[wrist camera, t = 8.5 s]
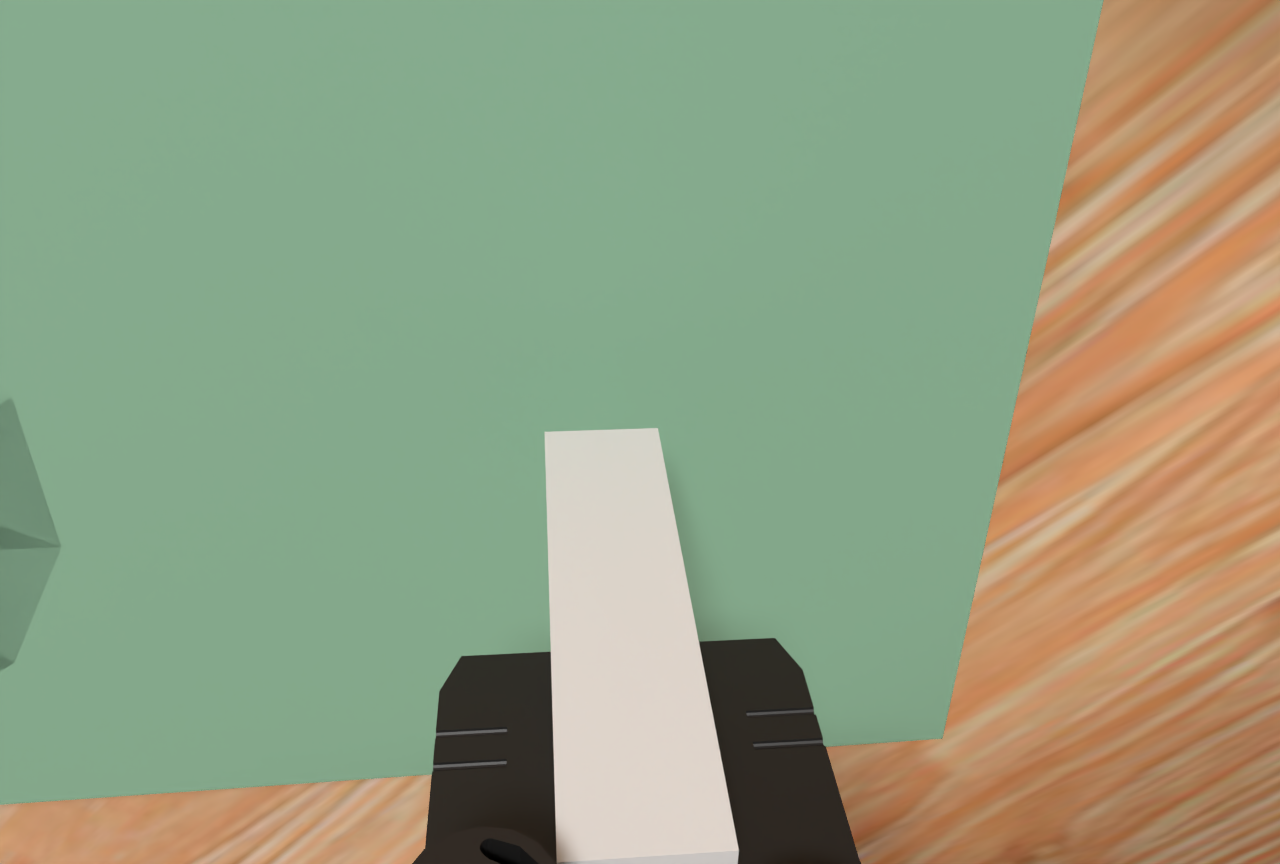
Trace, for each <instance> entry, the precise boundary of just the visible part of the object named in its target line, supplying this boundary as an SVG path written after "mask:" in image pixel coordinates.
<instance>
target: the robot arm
mask: <svg viewBox="0 0 1280 864" xmlns="http://www.w3.org/2000/svg"><path fill="white" fill-rule="evenodd" d="M545 467H546V502H547V537H548V572H549V607H550V642H551V652H533V653H513V654H493V655H473V656H461V657H460V659H459V661H458V662H457V664H456V665H455V667H454V669H453V670H452V672H451V673H450V675H449V677H448V678H447V680H446V681H445V683H444V685H443V686H442V688H441V689H440V691H439V700H438V712H437V723H436V738H435V745H434V757H433V771H432V779H431V790H430V801H429V813H428V824H427V835H426V846H425V849H424V850H423V852H422V853H421V854H420V855H419V856H418V858H417V859H416V860H415V861H414V862H413V863H412V864H861V862H860V860H859V858H858V854H857V851H856V847H855V844H854V841H853V837H852V834H851V831H850V827H849V824H848V820H847V817H846V814H845V810H844V807H843V804H842V800H841V797H840V794H839V790H838V787H837V783H836V780H835V777H834V773H833V770H832V767H831V763H830V760H829V757H828V753H827V750H826V746H824V745H823V736H822V733H821V730H820V726H819V723H818V720H817V716H816V715H814V706H813V703H812V699H811V696H810V693H809V689H808V686H807V683H806V679H805V676H804V672H803V669H802V668H801V667H800V666H799V665H798V664H797V663H796V661H795V660H794V659H793V658H792V657H791V656H790V655H789V653H788V652H787V651H786V650H785V649H784V648H783V647H782V645H781V644H780V643H779V642H778V641H777V640H776V638H762V639H741V640H721V641H701V642H699V640H698V635H697V630H696V624H695V619H694V614H693V609H692V603H691V598H690V593H689V588H688V583H687V577H686V572H685V567H684V562H683V557H682V551H681V546H680V541H679V536H678V531H677V525H676V520H675V515H674V510H673V504H672V499H671V494H670V489H669V484H668V478H667V473H666V468H665V463H664V458H663V452H662V447H661V442H660V437H659V432H658V428H643V429H613V430H582V431H552V432H545Z"/></svg>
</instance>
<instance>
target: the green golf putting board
mask: <svg viewBox="0 0 1280 864" xmlns="http://www.w3.org/2000/svg"><path fill="white" fill-rule="evenodd" d="M1102 4H1103V0H0V805H2V804H17V803H31V802H45V801H59V800H74V799H88V798H102V797H117V796H131V795H145V794H159V793H174V792H188V791H202V790H216V789H231V788H245V787H259V786H273V785H288V784H302V783H316V782H330V781H345V780H359V779H373V778H387V777H402V776H416V775H430V774H432V771H433V757H434V745H435V738H436V723H437V712H438V700H439V691H440V689H441V688H442V686H443V685H444V683H445V681H446V680H447V678H448V677H449V675H450V673H451V672H452V670H453V669H454V667H455V665H456V664H457V662H458V661H459V659H460V657H461V656H473V655H493V654H513V653H533V652H551V642H550V607H549V572H548V537H547V502H546V467H545V432H552V431H582V430H613V429H643V428H658V432H659V437H660V442H661V447H662V452H663V458H664V463H665V468H666V473H667V478H668V484H669V489H670V494H671V499H672V504H673V510H674V515H675V520H676V525H677V531H678V536H679V541H680V546H681V551H682V557H683V562H684V567H685V572H686V577H687V583H688V588H689V593H690V598H691V603H692V609H693V614H694V619H695V624H696V630H697V635H698V640H699V642H701V641H721V640H741V639H762V638H776V640H777V641H778V642H779V643H780V644H781V645H782V647H783V648H784V649H785V650H786V651H787V652H788V653H789V655H790V656H791V657H792V658H793V659H794V660H795V661H796V663H797V664H798V665H799V666H800V667H801V668H802V669H803V672H804V676H805V679H806V683H807V686H808V689H809V693H810V696H811V699H812V703H813V706H814V715H816V716H817V720H818V723H819V726H820V730H821V733H822V736H823V745H824V746H826V747H829V746H844V745H858V744H872V743H886V742H901V741H915V740H929V739H942V738H943V734H944V729H945V725H946V720H947V715H948V711H949V706H950V702H951V697H952V692H953V688H954V683H955V679H956V674H957V669H958V665H959V660H960V656H961V651H962V647H963V642H964V637H965V633H966V628H967V624H968V619H969V614H970V610H971V605H972V601H973V596H974V591H975V587H976V582H977V578H978V573H979V569H980V564H981V559H982V555H983V550H984V546H985V541H986V536H987V532H988V527H989V523H990V518H991V514H992V509H993V504H994V500H995V495H996V491H997V486H998V481H999V477H1000V472H1001V468H1002V463H1003V458H1004V454H1005V449H1006V445H1007V440H1008V436H1009V431H1010V426H1011V422H1012V417H1013V413H1014V408H1015V403H1016V399H1017V394H1018V390H1019V385H1020V381H1021V376H1022V371H1023V367H1024V362H1025V358H1026V353H1027V348H1028V344H1029V339H1030V335H1031V330H1032V325H1033V321H1034V316H1035V312H1036V307H1037V303H1038V298H1039V293H1040V289H1041V284H1042V280H1043V275H1044V270H1045V266H1046V261H1047V257H1048V252H1049V247H1050V243H1051V238H1052V234H1053V229H1054V225H1055V220H1056V215H1057V211H1058V206H1059V202H1060V197H1061V192H1062V188H1063V183H1064V179H1065V174H1066V170H1067V165H1068V160H1069V156H1070V151H1071V147H1072V142H1073V137H1074V133H1075V128H1076V124H1077V119H1078V114H1079V110H1080V105H1081V101H1082V96H1083V92H1084V87H1085V82H1086V78H1087V73H1088V69H1089V64H1090V59H1091V55H1092V50H1093V46H1094V41H1095V37H1096V32H1097V27H1098V23H1099V18H1100V14H1101V9H1102Z"/></svg>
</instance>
